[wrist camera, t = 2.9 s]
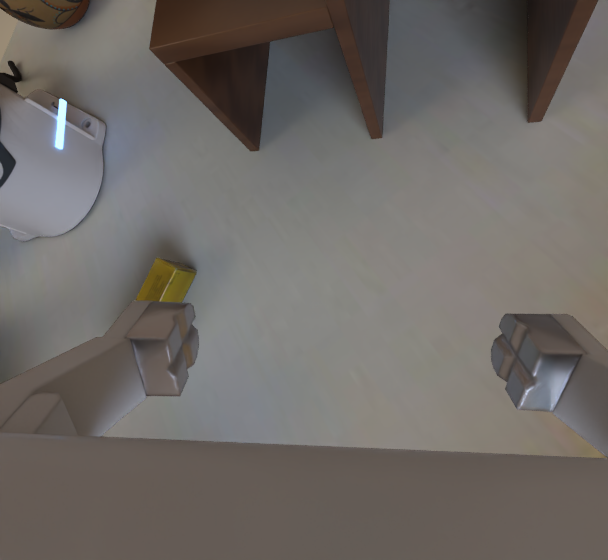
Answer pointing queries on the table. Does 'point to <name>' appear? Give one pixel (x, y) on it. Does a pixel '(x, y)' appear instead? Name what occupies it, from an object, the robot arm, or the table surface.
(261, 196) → the table surface
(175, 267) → the medication box
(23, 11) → the ceramic vessel
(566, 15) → the step shelf
